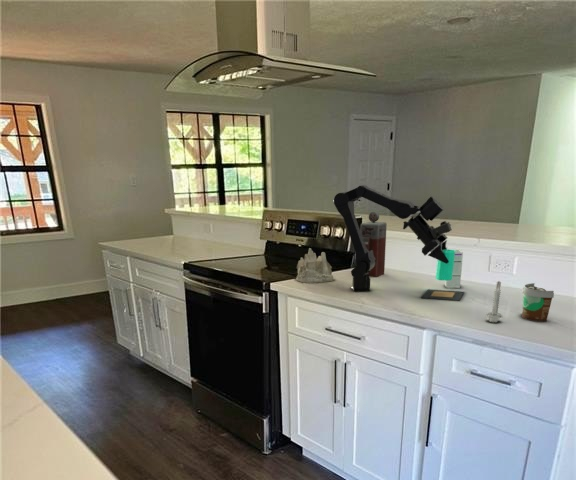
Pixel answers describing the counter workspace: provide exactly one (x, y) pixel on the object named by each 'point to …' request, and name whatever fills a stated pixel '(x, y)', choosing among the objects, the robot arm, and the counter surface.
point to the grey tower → (456, 271)
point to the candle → (445, 266)
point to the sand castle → (314, 268)
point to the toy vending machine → (375, 242)
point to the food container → (536, 302)
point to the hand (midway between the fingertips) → (449, 261)
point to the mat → (443, 295)
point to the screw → (495, 305)
